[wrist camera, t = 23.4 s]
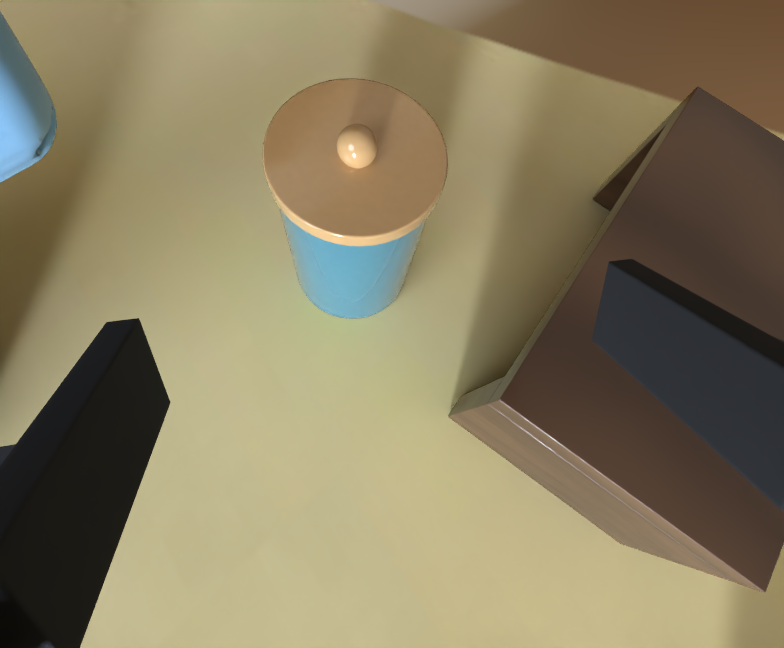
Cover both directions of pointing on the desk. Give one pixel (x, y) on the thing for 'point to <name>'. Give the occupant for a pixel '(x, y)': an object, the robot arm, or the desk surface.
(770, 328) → the shelf
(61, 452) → the robot arm
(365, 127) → the canister
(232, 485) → the desk surface
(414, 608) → the desk surface
